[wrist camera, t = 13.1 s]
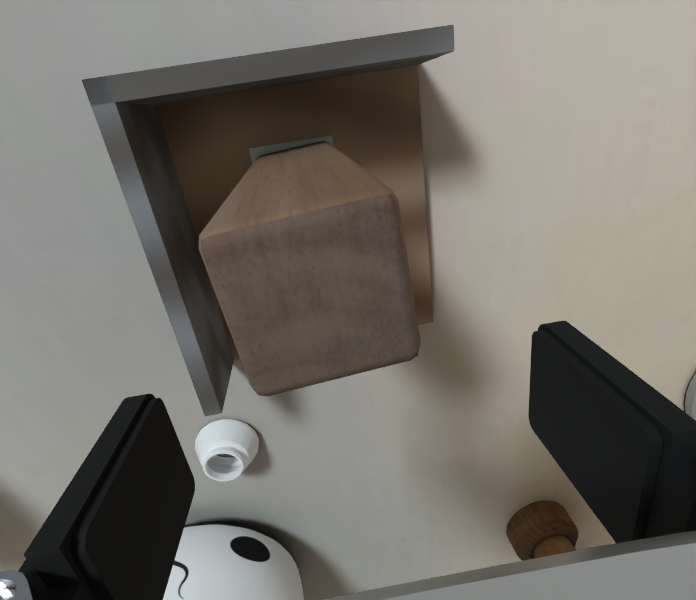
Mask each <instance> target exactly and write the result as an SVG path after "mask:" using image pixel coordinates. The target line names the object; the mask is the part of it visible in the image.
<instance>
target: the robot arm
mask: <svg viewBox="0 0 696 600" xmlns="http://www.w3.org/2000/svg"><path fill="white" fill-rule="evenodd" d="M685 411H686V413H685V412H684V411H683V410H681V409H680V408H679V407H677V406H676V405H675V404H673V403H672V402H671V401H670V400H668V399H667V398H666V397H664V396H663V395H662V394H660V393H659V392H658V391H657V390H655V389H654V388H653V387H651V386H650V385H649V384H647V383H646V382H645V381H644V380H642V379H641V378H640V377H638V376H637V375H636V374H634V373H633V372H632V371H630V370H629V369H628V368H627V367H625V366H624V365H623V364H621V363H620V362H619V361H617V360H616V359H615V358H614V357H612V356H611V355H610V354H608V353H607V352H606V351H604V350H603V349H602V348H601V347H599V346H598V345H597V344H595V343H594V342H593V341H591V340H590V339H589V338H588V337H586V336H585V335H584V334H582V333H581V332H580V331H578V330H577V329H576V328H574V327H573V326H572V325H571V324H569V323H568V322H566V321H558V322H553V323H547V324H542V325H540V326H539V328H538V331H535V332H534V333H533V335H532V348H531V372H530V395H529V421H530V425H531V427H532V429H533V431H534V432H535V434H536V435H537V436H538V438H539V439H540V440H541V442H542V443H543V444H544V446H545V447H546V448H547V450H548V451H549V452H550V454H551V455H552V457H553V458H554V459H555V461H556V462H557V463H558V465H559V466H560V467H561V469H562V470H563V471H564V473H565V474H566V476H567V477H568V478H569V480H570V481H571V482H572V484H573V485H574V486H575V488H576V489H577V490H578V492H579V493H580V495H581V496H582V497H583V499H584V500H585V501H586V503H587V504H588V505H589V507H590V508H591V509H592V511H593V512H594V513H595V515H596V516H597V518H598V519H599V520H600V522H601V523H602V524H603V526H604V527H605V528H606V530H607V531H608V532H609V534H610V535H611V537H612V538H613V539H614V541H615V542H616V544H610V545H605V546H599V547H593V548H588V549H583V550H577V551H572V552H567V553H561V554H556V555H551V556H545V557H540V558H535V559H529V560H524V561H519V562H514V563H508V564H503V565H498V566H492V567H487V568H482V569H476V570H471V571H466V572H461V573H455V574H450V575H445V576H440V577H435V578H430V579H424V580H419V581H414V582H409V583H404V584H399V585H393V586H388V587H383V588H378V589H373V590H368V591H363V592H358V593H352V594H347V595H342V596H337V597H332V598H327V599H322V600H696V373H695V374H694V376H693V378H692V380H691V382H690V384H689V387H688V390H687V392H686V398H685ZM194 491H195V482H194V477H193V475H192V472H191V470H190V467H189V465H188V462H187V460H186V457H185V455H184V452H183V450H182V447H181V445H180V442H179V440H178V437H177V435H176V432H175V430H174V427H173V425H172V422H171V420H170V417H169V415H168V412H167V410H166V407H165V405H164V403H163V401H162V400H161V399H160V398H155V397H154V396H153V395H152V394H145V395H139V396H134V397H128V398H125V399H124V400H123V401H122V403H121V405H120V406H119V408H118V409H117V411H116V412H115V414H114V415H113V417H112V419H111V420H110V422H109V423H108V425H107V426H106V428H105V429H104V431H103V433H102V434H101V436H100V437H99V439H98V440H97V442H96V443H95V445H94V447H93V448H92V450H91V451H90V453H89V454H88V456H87V457H86V459H85V460H84V462H83V464H82V465H81V467H80V468H79V470H78V471H77V473H76V474H75V476H74V478H73V479H72V481H71V482H70V484H69V485H68V487H67V488H66V490H65V492H64V493H63V495H62V496H61V498H60V499H59V501H58V502H57V504H56V506H55V507H54V509H53V510H52V512H51V513H50V515H49V516H48V518H47V519H46V521H45V523H44V524H43V526H42V527H41V529H40V530H39V532H38V533H37V535H36V537H35V538H34V540H33V541H32V543H31V544H30V546H29V547H28V549H27V551H26V552H25V554H24V555H25V557H26V560H25V561H24V563H23V565H22V566H21V568H20V569H19V571H15V570H10V571H1V572H0V600H163V597H164V594H165V591H166V587H167V584H168V580H169V577H170V574H171V570H172V567H173V563H174V560H175V557H176V553H177V550H178V546H179V543H180V540H181V536H182V533H183V529H184V526H185V523H186V519H187V516H188V512H189V509H190V506H191V502H192V499H193V495H194Z"/></svg>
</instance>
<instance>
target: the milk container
mask: <svg viewBox="0 0 696 600" xmlns="http://www.w3.org/2000/svg"><path fill="white" fill-rule="evenodd" d="M163 600H304V596H303V588H302V583H301V579H300V575H299V571H298V568H297V565H296V563H295V561H294V560H293V558H292V556H291V554H290V553H289V552H288V551H287V549H286V548H285V547H284V546H282V545H281V544H280V543H279V542H278V541H277V540H276V539H274V538H273V537H271V536H269V535H267V534H265V533H263V532H260V531H258V530H256V529H253V528H250V527H247V526H243V525H236V524H228V523H222V522H212V523H201V524H191V525H185V526H184V529H183V533H182V536H181V540H180V543H179V546H178V550H177V553H176V557H175V560H174V563H173V567H172V570H171V574H170V577H169V580H168V584H167V587H166V591H165V594H164V597H163Z"/></svg>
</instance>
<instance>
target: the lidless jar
mask: <svg viewBox="0 0 696 600" xmlns="http://www.w3.org/2000/svg"><path fill="white" fill-rule="evenodd" d="M258 446H259V438H258V436H257V434H256V432H255V430H254V429H252V428H251V427H250V426H249V425H248V424H246V423H244V422H241V421H238V420H233V419H221V420H218V421H214V422H211V423H209V424H208V425H206V426H205V427H204V428H202V429H201V431H200V432H199V434H198V436H197V438H196V441H195V451H196V453H197V456H198V458H199V461H200V463H201V465H202V466H203V469H204V472H205V474H206V475H207V476H208V477H210V478H211V479H214V480H217V481H229V480H233V479H235V478H237V477H238V476H239V475H240V474H241V473H242V471H243V470H245V469H246V467H247V466H248V465H249V464H250V463H251V462H252V460H253V459H254V457H255V456H256V454H257V453H258ZM217 454H230V455H232V456H234V457H232V458H227V457H220V456H217Z"/></svg>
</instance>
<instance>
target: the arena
mask: <svg viewBox="0 0 696 600" xmlns="http://www.w3.org/2000/svg"><path fill="white" fill-rule="evenodd" d="M453 51H454V25H448V26H441V27H434V28H428V29H421V30H414V31H407V32H401V33H394V34H387V35H380V36H374V37H367V38H360V39H353V40H347V41H340V42H333V43H326V44H320V45H313V46H306V47H299V48H293V49H286V50H279V51H272V52H266V53H259V54H252V55H246V56H239V57H232V58H225V59H219V60H212V61H205V62H198V63H192V64H185V65H178V66H171V67H165V68H158V69H151V70H144V71H138V72H131V73H124V74H117V75H111V76H104V77H97V78H90V79H84V80H82V82H83V85H84V88H85V90H86V93H87V96H88V98H89V101H90V104H91V107H92V109H93V112H94V115H95V118H96V120H97V123H98V126H99V128H100V131H101V134H102V137H103V139H104V142H105V145H106V148H107V150H108V153H109V156H110V158H111V161H112V164H113V167H114V169H115V172H116V175H117V178H118V180H119V183H120V186H121V188H122V191H123V194H124V197H125V199H126V202H127V205H128V208H129V210H130V213H131V216H132V218H133V221H134V224H135V227H136V229H137V232H138V235H139V238H140V240H141V243H142V246H143V248H144V251H145V254H146V257H147V259H148V262H149V265H150V268H151V270H152V273H153V276H154V278H155V281H156V284H157V287H158V289H159V292H160V295H161V298H162V300H163V303H164V306H165V309H166V311H167V314H168V317H169V319H170V322H171V325H172V328H173V330H174V333H175V336H176V339H177V341H178V344H179V347H180V349H181V352H182V355H183V358H184V360H185V363H186V366H187V369H188V371H189V374H190V377H191V379H192V382H193V385H194V388H195V390H196V393H197V396H198V399H199V401H200V404H201V407H202V409H203V412H204V415H205V416H209V415H214V414H220V413H222V410H223V405H224V401H225V396H226V392H227V388H228V383H229V379H230V375H231V370H232V366H233V361H234V359H240V356H239V354H238V351H237V348H236V346H235V343H234V340H233V338H232V335H231V333H230V330H229V327H228V325H227V322H226V320H225V317H224V314H223V312H222V309H221V306H220V304H219V301H218V299H217V296H216V293H215V291H214V288H213V285H212V283H211V280H210V278H209V275H208V272H207V270H206V267H205V265H204V262H203V259H202V257H201V254H200V251H199V235H200V234H201V232H202V231H203V230H204V228H205V227H206V226H207V224H208V223H209V222H210V220H211V219H212V217H213V216H214V215H215V213H216V212H217V211H218V209H219V208H220V207H221V205H222V204H223V203H224V201H225V200H226V199H227V197H228V196H229V195H230V193H231V192H232V191H233V189H234V188H235V187H236V185H237V184H238V183H239V181H240V180H241V179H242V177H243V176H244V175H245V173H246V172H247V171H248V169H249V168H250V167H251V165H252V164H253V163H254V161H255V160H256V159H257V158H258V157H259V156H260V155H263V154H267V153H271V152H276V151H280V150H284V149H288V148H293V147H297V146H301V145H305V144H310V143H314V142H318V141H327V142H329V143H330V144H331V145H333V146H334V147H335V148H337V149H338V150H339V151H341V152H342V153H343V154H345V155H346V156H347V157H349V158H350V159H351V160H353V161H354V162H355V163H357V164H358V165H359V166H361V167H362V168H363V169H365V170H366V171H367V172H369V173H370V174H371V175H373V176H374V177H375V178H377V179H378V180H379V181H381V182H382V183H383V184H385V185H386V186H387V187H389V188H390V189H391V190H392V191H393V193H394V194H395V196H396V198H397V199H398V201H399V207H400V213H401V220H402V226H403V233H404V239H405V245H406V252H407V258H408V265H409V271H410V278H411V284H412V290H413V297H414V303H415V310H416V316H417V322H418V325H419V324H425V323H430V322H433V310H432V294H431V278H430V262H429V246H428V230H427V214H426V198H425V182H424V166H423V150H422V134H421V118H420V102H419V86H418V70H417V65H419V64H421V63H424V62H426V61H429V60H432V59H434V58H437V57H440V56H442V55H445V54H447V53H450V52H453Z"/></svg>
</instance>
